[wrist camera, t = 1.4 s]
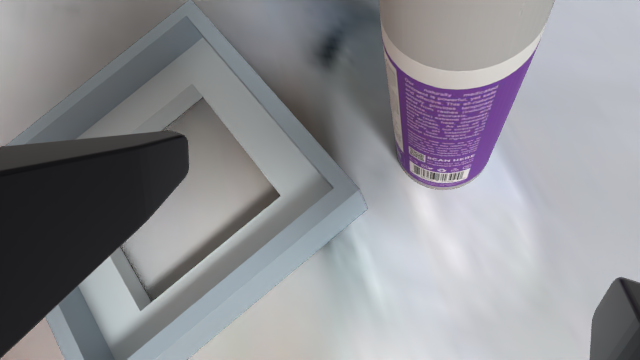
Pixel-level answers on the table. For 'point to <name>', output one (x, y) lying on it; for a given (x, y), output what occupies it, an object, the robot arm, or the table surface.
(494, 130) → the container
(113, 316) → the walled box
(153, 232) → the table surface
